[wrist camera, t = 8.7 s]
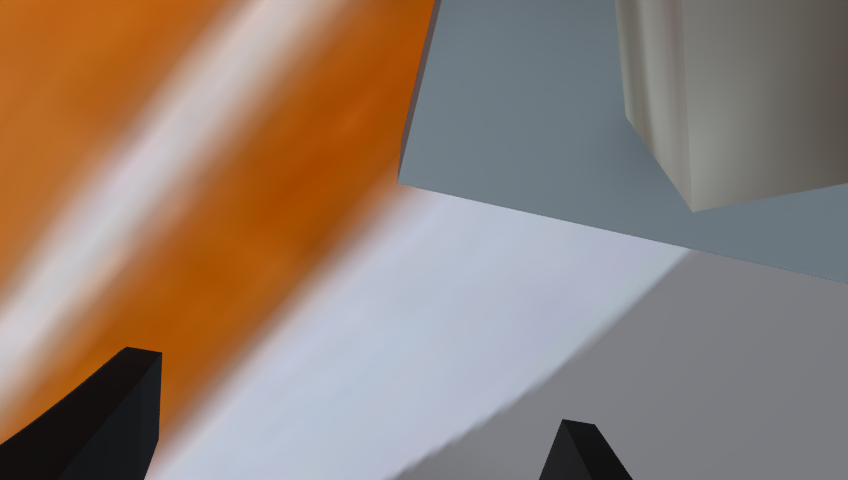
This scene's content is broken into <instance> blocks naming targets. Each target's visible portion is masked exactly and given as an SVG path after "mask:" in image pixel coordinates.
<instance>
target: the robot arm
mask: <svg viewBox="0 0 848 480" xmlns="http://www.w3.org/2000/svg"><path fill="white" fill-rule="evenodd" d="M161 371H162V353H161V352H155V351H149V350H143V349H137V348H131V347H126V348H124V349H122V350H121V351H119V352H118V353H117V354H116V355H115V356H114V357H112V358H111V359H110V360H109V361H108V362H106V363H105V364H104V365H103V366H102V367H101V368H99V369H98V370H97V371H96V372H95V373H93V374H92V375H91V376H90V377H89V378H88V379H86V380H85V381H84V382H83V383H81V384H80V385H79V386H78V387H77V388H75V389H74V390H73V391H72V392H70V393H69V394H68V395H67V396H65V397H64V398H63V399H62V400H60V401H59V402H58V403H56V404H55V405H54V406H53V407H51V408H50V409H49V410H47V411H46V412H45V413H44V414H42V415H41V416H40V417H38V418H37V419H36V420H34V421H33V422H32V423H30V424H29V425H28V426H26V427H25V428H24V429H22V430H21V431H19V432H18V433H17V434H15V435H14V436H12V437H11V438H9V439H8V440H7V441H5V442H4V443H2V444H1V445H0V480H144V478H145V476H146V473H147V470H148V468H149V465H150V462H151V459H152V456H153V454H154V451H155V448H156V445H157V442H158V439H159V417H160V394H161ZM539 480H633V479H632V478H631V477H630V475H629V474H628V472H627V471H626V469H625V468H624V466H623V465H622V463H621V462H620V461H619V459H618V457H617V456H616V455H615V453H614V452H613V450H612V449H611V447H610V446H609V444H608V443H607V441H606V440H605V439H604V437H603V435H602V434H601V433H600V431H599V430H598V428H597V427H596V425H595V424H589V423H583V422H577V421H571V420H565V419H562V422H561V425H560V427H559V429H558V432H557V435H556V437H555V440H554V442H553V445H552V448H551V450H550V453H549V455H548V458H547V460H546V463H545V466H544V468H543V471H542V473H541V476H540V479H539Z"/></svg>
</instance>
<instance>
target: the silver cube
mask: <svg viewBox="0 0 848 480" xmlns="http://www.w3.org/2000/svg"><path fill="white" fill-rule="evenodd" d="M615 11H616V21H617V32H618V42H619V53H620V63H621V73H622V84H623V94H624V105H625V115H626V117H627V119H628V120H629V122H630V123H631V125H632V126H633V127H634V129H635V130H636V132H637V133H638V135H639V136H640V137H641V139H642V140H643V142H644V143H645V145H646V146H647V147H648V149H649V150H650V152H651V153H652V155H653V156H654V157H655V159H656V160H657V162H658V163H659V165H660V166H661V167H662V169H663V170H664V172H665V173H666V175H667V176H668V177H669V179H670V180H671V182H672V183H673V185H674V186H675V188H676V189H677V190H678V192H679V193H680V195H681V196H682V198H683V199H684V200H685V202H686V203H687V205H688V206H689V208H690V209H691V210H692V212H696V211H701V210H707V209H712V208H717V207H723V206H728V205H733V204H739V203H744V202H749V201H755V200H760V199H766V198H771V197H776V196H782V195H787V194H792V193H798V192H803V191H808V190H814V189H819V188H824V187H830V186H835V185H841V184H846V183H848V0H615Z"/></svg>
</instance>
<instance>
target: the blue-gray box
mask: <svg viewBox="0 0 848 480" xmlns="http://www.w3.org/2000/svg"><path fill="white" fill-rule="evenodd" d="M397 183H398V184H403V185H407V186H412V187H416V188H421V189H425V190H430V191H434V192H439V193H443V194H448V195H452V196H456V197H461V198H465V199H470V200H474V201H479V202H483V203H488V204H492V205H497V206H501V207H506V208H510V209H515V210H519V211H524V212H528V213H533V214H537V215H542V216H546V217H551V218H555V219H560V220H564V221H569V222H573V223H577V224H582V225H586V226H591V227H595V228H600V229H604V230H609V231H613V232H618V233H622V234H627V235H631V236H636V237H640V238H645V239H649V240H654V241H658V242H663V243H667V244H672V245H676V246H681V247H685V248H689V249H694V250H698V251H703V252H707V253H712V254H716V255H721V256H725V257H730V258H735V259H739V260H743V261H748V262H752V263H757V264H761V265H766V266H770V267H775V268H779V269H784V270H789V271H793V272H797V273H802V274H807V275H811V276H815V277H819V278H824V279H829V280H833V281H838V282H842V283H846V284H848V183H846V184H841V185H835V186H830V187H824V188H819V189H814V190H808V191H803V192H798V193H792V194H787V195H782V196H776V197H771V198H766V199H760V200H755V201H749V202H744V203H739V204H733V205H728V206H723V207H717V208H712V209H707V210H701V211H696V212H692V210H691V209H690V208H689V206H688V205H687V203H686V202H685V200H684V199H683V198H682V196H681V195H680V193H679V192H678V190H677V189H676V188H675V186H674V185H673V183H672V182H671V180H670V179H669V177H668V176H667V175H666V173H665V172H664V170H663V169H662V167H661V166H660V165H659V163H658V162H657V160H656V159H655V157H654V156H653V155H652V153H651V152H650V150H649V149H648V147H647V146H646V145H645V143H644V142H643V140H642V139H641V137H640V136H639V135H638V133H637V132H636V130H635V129H634V127H633V126H632V125H631V123H630V122H629V120H628V119H627V117H626V115H625V105H624V94H623V84H622V73H621V63H620V53H619V42H618V32H617V21H616V11H615V0H435V2H434V6H433V10H432V15H431V19H430V23H429V27H428V31H427V36H426V40H425V44H424V48H423V52H422V56H421V61H420V65H419V69H418V73H417V77H416V81H415V86H414V90H413V94H412V98H411V102H410V107H409V111H408V115H407V119H406V123H405V127H404V132H403V136H402V141H401V151H400V161H399V170H398V180H397Z"/></svg>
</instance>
